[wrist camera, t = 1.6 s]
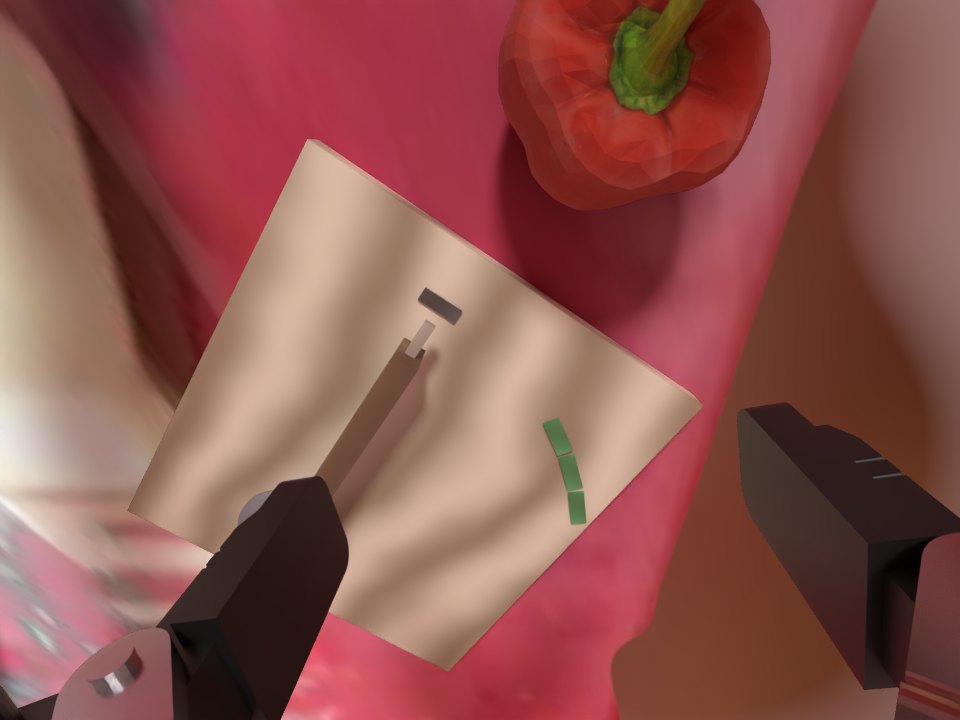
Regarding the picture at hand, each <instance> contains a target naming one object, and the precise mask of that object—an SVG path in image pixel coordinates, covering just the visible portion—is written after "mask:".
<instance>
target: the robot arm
mask: <svg viewBox="0 0 960 720" xmlns="http://www.w3.org/2000/svg"><path fill="white" fill-rule="evenodd" d="M737 428H738V442H739V457H740V472H741V485H742V491H743V496H744V499H745V502H746V506H747V508H748V511H749V513H750V515H751V517H752V519H753V521H754V522H755V524H756V525H757V527H758V528H759V530H760V531H761V533H762V534H763V536H764V537H765V539H766V541H767V542H768V543H769V545H770V547H771V548H772V550H773V551H774V553H775V554H776V556H777V557H778V559H779V560H780V562H781V563H782V565H783V567H784V568H785V570H786V571H787V573H788V574H789V575H790V577H791V579H792V580H793V582H794V583H795V585H796V586H797V588H798V589H799V591H800V593H801V594H802V595H803V597H804V599H805V600H806V602H807V603H808V605H809V606H810V608H811V609H812V611H813V612H814V614H815V615H816V617H817V618H818V620H819V621H820V623H821V625H822V626H823V628H824V629H825V630H826V632H827V634H828V635H829V637H830V638H831V640H832V641H833V643H834V645H835V646H836V648H837V649H838V651H839V652H840V654H841V655H842V657H843V658H844V660H845V661H846V663H847V664H848V666H849V667H850V669H851V671H852V672H853V674H854V675H855V677H856V678H857V680H858V681H859V683H860V684H861V685H862V687H863V689H864V690H868V689H881V688H892V687H898V688H899V693H898V699H897V706H896V712H895V719H894V720H960V518H959V517H958V516H956V515H955V514H954V513H953V512H951V511H950V510H949V509H948V508H946V507H945V506H944V505H942V504H941V503H940V502H939V501H938V500H936V499H935V498H934V497H933V496H931V495H930V494H929V493H928V492H926V491H925V490H924V489H923V488H921V487H920V486H919V485H918V484H916V483H915V482H914V481H912V480H911V479H910V478H909V477H908V476H903V475H902V473H901V471H900V470H899V469H898V468H896V467H895V466H894V465H893V464H891V463H890V462H889V461H888V460H883V459H882V456H881V455H880V454H879V453H878V452H876V451H875V450H874V449H873V448H871V447H870V446H869V445H868V444H866V443H865V442H864V441H863V440H861V439H860V438H859V437H856V436H854V435H851V434H849V433H846V432H844V431H842V430H839V429H837V428H834V427H832V426H829V425H821V426H814V425H813V424H812V423H810V422H809V421H808V420H807V419H806V418H805V417H803V416H802V415H801V414H800V413H799V412H798V411H797V410H796V409H795V408H793V407H792V406H791V405H790V404H788V403H786V402H783V403H777V404H771V405H764V406H758V407H752V408H746V409H741V410H740V411H739V412H738V416H737ZM348 561H349V546H348V540H347V537H346V534H345V531H344V529H343V526H342V523H341V521H340V518H339V515H338V513H337V510H336V507H335V505H334V502H333V499H332V497H331V494H330V492H329V489H328V486H327V484H326V482H325V481H324V480H323V478H321V477H319V476H313V477H306V478H300V479H294V480H288V481H283V482H281V483H279V484H278V485H277V486H276V488H275V489H274V490H273V492H272V493H271V494H270V495H269V497H268V498H267V499H266V501H265V502H264V503H263V504H262V506H261V507H260V508H259V510H257V511H256V512H255V513H254V514H252V515H251V516H250V517H249V518H247V519H246V520H245V521H244V522H242V523H241V524H240V525H239V526H237V527H236V528H235V529H234V531H233V532H232V533H231V534H230V536H229V537H228V538H227V539H226V541H225V542H224V543H223V544H222V546H221V547H220V551H218V552H216V553H215V554H214V555H213V557H212V558H211V559H210V560H209V562H208V563H207V564H206V565H207V567H206V568H205V569H202V570H201V572H200V573H199V574H198V575H197V577H196V578H195V579H194V580H193V582H192V583H191V584H190V585H189V587H188V588H187V589H186V590H185V592H184V593H183V594H182V595H181V597H180V598H179V599H178V600H177V602H176V603H175V604H174V605H173V607H172V608H171V609H170V610H169V612H168V613H167V614H166V615H165V617H164V618H163V619H162V620H161V622H160V623H159V624H158V625H157V627H156V628H146V629H142V630H138V631H135V632H132V633H130V634H127V635H125V636H123V637H121V638H119V639H117V640H115V641H114V642H112V643H110V644H108V645H107V646H105V647H104V648H102V649H101V650H99V651H98V652H97V653H96V654H94V655H93V656H92V657H90V658H89V659H88V660H87V661H86V662H85V663H83V664H82V665H81V666H80V667H79V668H78V669H77V670H76V671H75V672H74V673H73V674H72V676H71V677H70V678H69V679H68V680H67V682H66V683H65V685H64V686H63V687H62V689H61V691H60V693H58V694H55V695H53V696H50V697H47V698H45V699H42V700H39V701H37V702H34V703H31V704H29V705H26V706H23V707H20V708H17V707H16V705H15V704H14V703H13V701H12V700H11V698H10V697H9V696H8V694H7V693H6V692H5V690H4V689H3V687H1V686H0V720H281V718H282V715H283V713H284V711H285V709H286V706H287V704H288V702H289V699H290V697H291V695H292V693H293V690H294V688H295V686H296V684H297V681H298V679H299V677H300V675H301V672H302V670H303V668H304V665H305V663H306V661H307V659H308V656H309V654H310V652H311V650H312V647H313V645H314V643H315V641H316V638H317V636H318V634H319V631H320V629H321V627H322V625H323V622H324V620H325V618H326V616H327V613H328V611H329V609H330V607H331V604H332V602H333V600H334V597H335V595H336V593H337V591H338V588H339V586H340V584H341V582H342V579H343V577H344V575H345V573H346V570H347V566H348Z"/></svg>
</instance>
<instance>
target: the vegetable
mask: <svg viewBox="0 0 960 720" xmlns="http://www.w3.org/2000/svg"><path fill="white" fill-rule="evenodd" d="M770 65H771V48H770V31H769V29H768V26H767V24H766V22H765V19H764V17H763V15H762V12H761V10H760V8H759V7H758V6H757V5H756V4H755V2H754V1H753V0H517V2H516V4H515V7H514V10H513V12H512V14H511V16H510V19H509V21H508V23H507V25H506V29H505V32H504V36H503V39H502V43H501V46H500V53H499V67H498V78H499V95H500V99H501V102H502V106H503V109H504V112H505V115H506V117H507V119H508V121H509V122H510V124H511V125H512V127H513V128H514V130H515V131H516V133H517V135H518V136H519V138H520V140H521V141H522V143H523V145H524V147H525V151H526V156H527V160H528V164H529V168H530V172H531V174H532V176H533V177H534V178H535V180H536V181H537V182H538V184H539V185H540V186H541V187H542V188H543V189H544V190H545V191H546V192H547V193H548V194H549V195H550V196H551V197H553V198H554V199H555V200H556V201H558V202H560V203H562V204H564V205H566V206H568V207H571V208H573V209H575V210H603V209H608V208H613V207H618V206H621V205H624V204H627V203H630V202H633V201H636V200H639V199H642V198H647V197H653V196H659V195H666V194H672V193H678V192H683V191H688V190H691V189H693V188H696V187H698V186H701V185H703V184H704V183H706V182H708V181H709V180H711V179H713V178H714V177H716V176H718V175H719V174H721V173H723V171H724V170H725V169H726V168H727V167H728V166H729V164H730V163H731V162H732V161H733V160H734V159H735V158H736V156H737V155H738V154H739V152H740V150H741V148H742V146H743V145H744V143H745V141H746V139H747V137H748V135H749V133H750V131H751V129H752V126H753V124H754V121H755V119H756V117H757V114H758V112H759V110H760V107H761V104H762V100H763V96H764V92H765V88H766V84H767V80H768V75H769V70H770Z"/></svg>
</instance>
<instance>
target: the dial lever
mask: <svg viewBox="0 0 960 720" xmlns="http://www.w3.org/2000/svg"><path fill="white" fill-rule="evenodd" d="M435 326H436V325H434V324H432V323H431V322H429V321H428V320H425V322H424V323H423V325H422V326H421V328H420V329H419V331H418V332H417V334H416V335H415V337H414V338H413V340H412V341H410V340H408V339H407V338H405V337H404V339H403V340H402V342H401V343H400V345H399V346H398V348H397V349H396V351H395V352H394V354H393V356H392V357H391V359H390V360H389V362H388V363H387V365H386V366H385V368H384V369H383V371H382V372H381V374H380V376H379V377H378V379H377V380H376V382H375V383H374V385H373V386H372V388H371V389H370V391H369V392H368V394H367V396H366V397H365V399H364V400H363V402H362V403H361V405H360V406H359V408H358V409H357V411H356V412H355V414H354V416H353V417H352V419H351V420H350V422H349V423H348V425H347V426H346V428H345V429H344V431H343V433H342V434H341V436H340V437H339V439H338V440H337V442H336V443H335V445H334V446H333V448H332V449H331V451H330V453H329V454H328V456H327V457H326V459H325V460H324V462H323V463H322V465H321V466H320V468H319V469H318V471H317V473H316V474H315V476H319V477H321V478H323V480H324V481H325V482H326V484H327V486H328V489H329V492H330V494H331V497H332V496H333V495H334V494H335V492H336V491H337V489H338V488H339V486H340V485H341V483H342V482H343V480H344V479H345V477H346V476H347V474H348V473H349V471H350V470H351V469H352V467H353V466H354V464H355V463H356V461H357V460H358V458H359V457H360V455H361V454H362V452H363V451H364V449H365V448H366V446H367V445H368V444H369V442H370V441H371V439H372V438H373V436H374V435H375V433H376V432H377V430H378V429H379V427H380V426H381V424H382V423H383V422H384V420H385V419H386V417H387V416H388V414H389V413H390V411H391V410H392V408H393V407H394V405H395V404H396V402H397V401H398V399H399V398H400V397H401V395H402V394H403V392H404V391H405V389H406V388H407V386H408V385H409V383H410V382H411V380H412V379H413V377H414V376H415V374H416V373H417V371H418V369H419V366H420V364H421V361H422V359H423V356H424V354H425V351H426V350H424V349H423V348H422V347H423V345H424V344H425V342H426V341H427V339H428V338H429V336H430V335H431V333H432V332H433V330H434V329H435Z"/></svg>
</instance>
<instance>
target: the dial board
mask: <svg viewBox="0 0 960 720" xmlns="http://www.w3.org/2000/svg"><path fill="white" fill-rule="evenodd" d="M425 320H428V321H429V322H431V323H432V324H434V325H436V326H435V329H434V330H433V332H432V333H431V335H430V336H429V338H428V339H427V341H426V342H425V344H424V345H423V347H422V348H423V349H424V350H426V351H425V354H424V356H423V359H422V361H421V364H420V366H419V369H418V371H417V373H416V374H415V376H414V377H413V379H412V380H411V382H410V383H409V385H408V386H407V388H406V389H405V391H404V392H403V394H402V395H401V397H400V398H399V399H398V401H397V402H396V404H395V405H394V407H393V408H392V410H391V411H390V413H389V414H388V416H387V417H386V419H385V420H384V422H383V423H382V424H381V426H380V427H379V429H378V430H377V432H376V433H375V435H374V436H373V438H372V439H371V441H370V442H369V444H368V445H367V446H366V448H365V449H364V451H363V452H362V454H361V455H360V457H359V458H358V460H357V461H356V463H355V464H354V466H353V467H352V469H351V470H350V471H349V473H348V474H347V476H346V477H345V479H344V480H343V482H342V483H341V485H340V486H339V488H338V489H337V491H336V492H335V494H334V495H333V496H332V499H333V502H334V505H335V507H336V510H337V513H338V515H339V518H340V521H341V523H342V526H343V529H344V531H345V534H346V537H347V540H348V546H349V561H348V566H347V570H346V573H345V575H344V577H343V579H342V582H341V584H340V586H339V588H338V591H337V593H336V595H335V597H334V600H333V602H332V604H331V607H330V609H329V611H328V612H330V613H332V614H334V615H336V616H338V617H340V618H342V619H344V620H346V621H348V622H350V623H352V624H354V625H356V626H358V627H360V628H362V629H364V630H366V631H368V632H370V633H372V634H374V635H376V636H378V637H380V638H382V639H384V640H386V641H388V642H390V643H392V644H394V645H396V646H398V647H400V648H402V649H404V650H406V651H408V652H410V653H412V654H414V655H416V656H418V657H420V658H422V659H424V660H426V661H428V662H430V663H432V664H434V665H436V666H438V667H440V668H442V669H444V670H446V671H449V670H450V669H451V668H452V667H453V666H454V665H455V664H456V663H457V662H458V661H459V660H460V659H461V658H462V657H463V656H464V655H465V654H466V652H467V651H468V650H469V649H470V648H471V647H472V646H473V645H474V644H475V643H476V642H477V641H478V640H479V639H480V638H481V637H482V636H483V635H484V634H485V633H486V632H487V631H488V630H489V629H490V627H491V626H492V625H493V624H494V623H495V622H496V621H497V620H498V619H499V618H500V617H501V616H502V615H503V614H504V613H505V612H506V611H507V610H508V609H509V608H510V607H511V606H512V605H513V604H514V602H515V601H516V600H517V599H518V598H519V597H520V596H521V595H522V594H523V593H524V592H525V591H526V590H527V589H528V588H529V587H530V586H531V585H532V584H533V583H534V582H535V581H536V580H537V578H538V577H539V576H540V575H541V574H542V573H543V572H544V571H545V570H546V569H547V568H548V567H549V566H550V565H551V564H552V563H553V562H554V561H555V560H556V559H557V558H558V557H559V556H560V555H561V553H562V552H563V551H564V550H565V549H566V548H567V547H568V546H569V545H570V544H571V543H572V542H573V541H574V540H575V539H576V538H577V537H578V536H579V535H580V534H581V533H582V532H583V531H584V530H585V528H586V527H587V526H588V525H589V524H590V523H591V522H592V521H593V520H594V519H595V518H596V517H597V516H598V515H599V514H600V513H601V512H602V511H603V510H604V509H605V508H606V507H607V506H608V504H609V503H610V502H611V501H612V500H613V499H614V498H615V497H616V496H617V495H618V494H619V493H620V492H621V491H622V490H623V489H624V488H625V487H626V486H627V485H628V484H629V483H630V482H631V481H632V479H633V478H634V477H635V476H636V475H637V474H638V473H639V472H640V471H641V470H642V469H643V468H644V467H645V466H646V465H647V464H648V463H649V462H650V461H651V460H652V459H653V458H654V457H655V456H656V454H657V453H658V452H659V451H660V450H661V449H662V448H663V447H664V446H665V445H666V444H667V443H668V442H669V441H670V440H671V439H672V438H673V437H674V436H675V435H676V434H677V433H678V432H679V431H680V429H681V428H682V427H683V426H684V425H685V424H686V423H687V422H688V421H689V420H690V419H691V418H692V417H693V416H694V415H695V414H696V413H697V412H698V411H699V410H700V409H701V408H702V407H703V406H702V405H701V404H700V402H699V401H698V400H697V398H696V397H695V396H694V395H693V394H692V393H690V392H689V391H687V390H686V389H684V388H683V387H681V386H680V385H678V384H677V383H675V382H674V381H673V380H671V379H670V378H668V377H667V376H665V375H664V374H662V373H661V372H659V371H658V370H656V369H655V368H653V367H652V366H650V365H649V364H647V363H646V362H645V361H643V360H642V359H640V358H639V357H637V356H636V355H634V354H633V353H631V352H630V351H628V350H627V349H625V348H624V347H622V346H621V345H620V344H618V343H617V342H615V341H614V340H612V339H611V338H609V337H608V336H606V335H605V334H603V333H602V332H600V331H599V330H597V329H596V328H594V327H593V326H592V325H590V324H589V323H587V322H586V321H584V320H583V319H581V318H580V317H578V316H577V315H575V314H574V313H572V312H571V311H569V310H568V309H567V308H565V307H564V306H562V305H561V304H559V303H558V302H556V301H555V300H553V299H552V298H550V297H549V296H547V295H546V294H544V293H543V292H541V291H540V290H539V289H537V288H536V287H534V286H533V285H531V284H530V283H528V282H527V281H525V280H524V279H522V278H521V277H519V276H518V275H516V274H515V273H514V272H512V271H511V270H509V269H508V268H506V267H505V266H503V265H502V264H500V263H499V262H497V261H496V260H494V259H493V258H491V257H490V256H488V255H487V254H486V253H484V252H483V251H481V250H480V249H478V248H477V247H475V246H474V245H472V244H471V243H469V242H468V241H466V240H465V239H463V238H462V237H461V236H459V235H458V234H456V233H455V232H453V231H452V230H450V229H449V228H447V227H446V226H444V225H443V224H441V223H440V222H438V221H437V220H436V219H434V218H433V217H431V216H430V215H428V214H427V213H425V212H424V211H422V210H421V209H419V208H418V207H416V206H415V205H413V204H412V203H410V202H409V201H408V200H406V199H405V198H403V197H402V196H400V195H399V194H397V193H396V192H394V191H393V190H391V189H390V188H388V187H387V186H385V185H384V184H383V183H381V182H380V181H378V180H377V179H375V178H374V177H372V176H371V175H369V174H368V173H366V172H365V171H363V170H362V169H360V168H359V167H357V166H356V165H355V164H353V163H352V162H350V161H349V160H347V159H346V158H344V157H343V156H341V155H340V154H338V153H337V152H335V151H334V150H332V149H331V148H330V147H328V146H327V145H325V144H324V143H322V142H321V141H319V140H316V139H307V141H306V143H305V146H304V148H303V150H302V152H301V154H300V156H299V158H298V160H297V162H296V164H295V166H294V168H293V170H292V172H291V174H290V176H289V179H288V181H287V183H286V185H285V187H284V189H283V191H282V193H281V195H280V197H279V199H278V201H277V203H276V205H275V207H274V209H273V211H272V214H271V216H270V218H269V220H268V222H267V224H266V226H265V228H264V230H263V232H262V234H261V236H260V238H259V240H258V242H257V244H256V246H255V249H254V251H253V253H252V255H251V257H250V259H249V261H248V263H247V265H246V267H245V269H244V271H243V273H242V275H241V277H240V279H239V281H238V284H237V286H236V288H235V290H234V292H233V294H232V296H231V298H230V300H229V302H228V304H227V306H226V308H225V310H224V312H223V314H222V317H221V319H220V321H219V323H218V325H217V327H216V329H215V331H214V333H213V335H212V337H211V339H210V341H209V343H208V345H207V347H206V349H205V352H204V354H203V356H202V358H201V360H200V362H199V364H198V366H197V368H196V370H195V372H194V374H193V376H192V378H191V380H190V382H189V384H188V387H187V389H186V391H185V393H184V395H183V397H182V399H181V401H180V403H179V405H178V407H177V409H176V411H175V413H174V415H173V417H172V419H171V422H170V424H169V426H168V428H167V430H166V432H165V434H164V436H163V438H162V440H161V442H160V444H159V446H158V448H157V450H156V452H155V455H154V457H153V459H152V461H151V463H150V465H149V467H148V469H147V471H146V473H145V475H144V477H143V479H142V481H141V483H140V485H139V487H138V490H137V492H136V494H135V496H134V498H133V500H132V502H131V504H130V506H129V508H128V510H127V511H129V512H131V513H133V514H135V515H137V516H139V517H141V518H143V519H145V520H147V521H149V522H151V523H153V524H155V525H157V526H159V527H161V528H163V529H165V530H167V531H169V532H171V533H173V534H175V535H177V536H179V537H181V538H183V539H185V540H187V541H189V542H191V543H193V544H195V545H197V546H199V547H201V548H203V549H205V550H207V551H209V552H210V553H212V554H215V553H216V552H218V551H220V547H221V546H222V544H223V543H224V542H225V541H226V539H227V538H228V537H229V536H230V534H231V533H232V532H233V531H234V529H235V528H236V527H237V526H239V525H240V524H241V523H242V522H244V521H245V520H246V519H247V518H249V517H250V516H251V515H252V514H254V513H255V512H256V511H257V510H259V508H260V507H261V506H262V504H263V503H264V502H265V501H266V499H267V498H268V497H269V495H270V494H271V493H272V492H273V490H274V489H275V488H276V486H277V485H278V484H279V483H281V482H283V481H288V480H294V479H300V478H306V477H313V476H315V474H316V473H317V471H318V469H319V468H320V466H321V465H322V463H323V462H324V460H325V459H326V457H327V456H328V454H329V453H330V451H331V449H332V448H333V446H334V445H335V443H336V442H337V440H338V439H339V437H340V436H341V434H342V433H343V431H344V429H345V428H346V426H347V425H348V423H349V422H350V420H351V419H352V417H353V416H354V414H355V412H356V411H357V409H358V408H359V406H360V405H361V403H362V402H363V400H364V399H365V397H366V396H367V394H368V392H369V391H370V389H371V388H372V386H373V385H374V383H375V382H376V380H377V379H378V377H379V376H380V374H381V372H382V371H383V369H384V368H385V366H386V365H387V363H388V362H389V360H390V359H391V357H392V356H393V354H394V352H395V351H396V349H397V348H398V346H399V345H400V343H401V342H402V340H403V339H404V337H405V338H407V339H408V340H410V341H412V340H413V338H414V337H415V335H416V334H417V332H418V331H419V329H420V328H421V326H422V325H423V323H424V322H425Z"/></svg>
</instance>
